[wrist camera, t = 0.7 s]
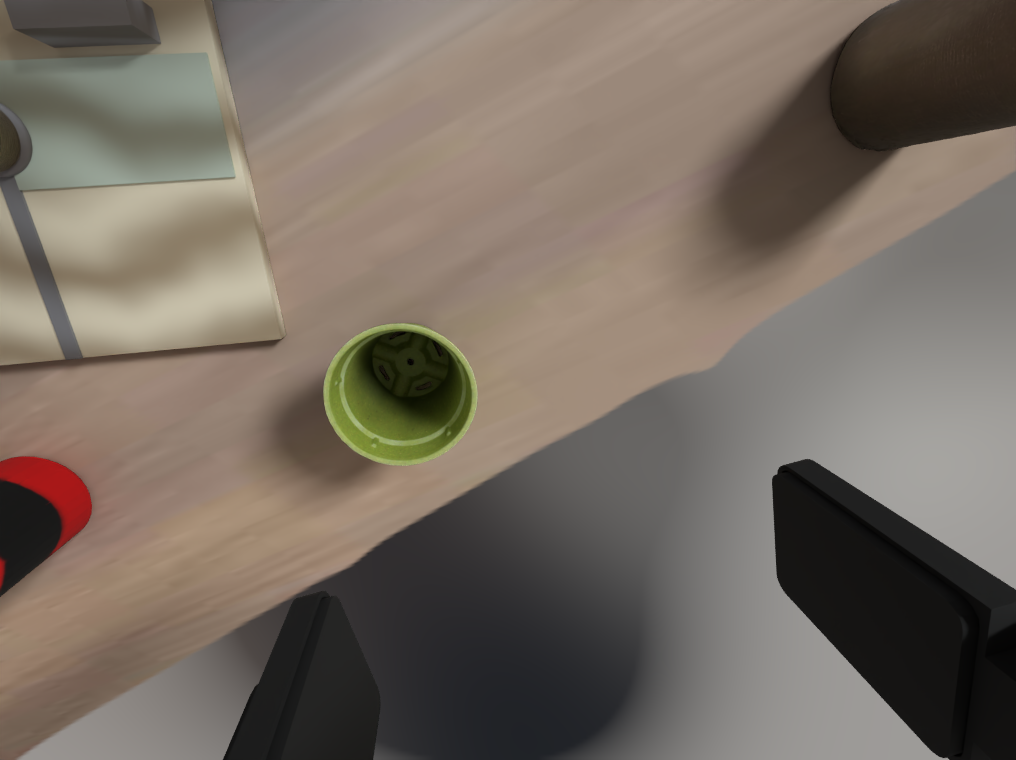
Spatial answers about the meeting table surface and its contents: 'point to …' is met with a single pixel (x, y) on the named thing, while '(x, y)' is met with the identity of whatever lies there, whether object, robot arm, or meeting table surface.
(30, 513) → the soda can
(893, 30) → the pillar candle
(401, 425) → the plant pot
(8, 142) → the swing bar
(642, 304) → the meeting table surface
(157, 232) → the lock board
